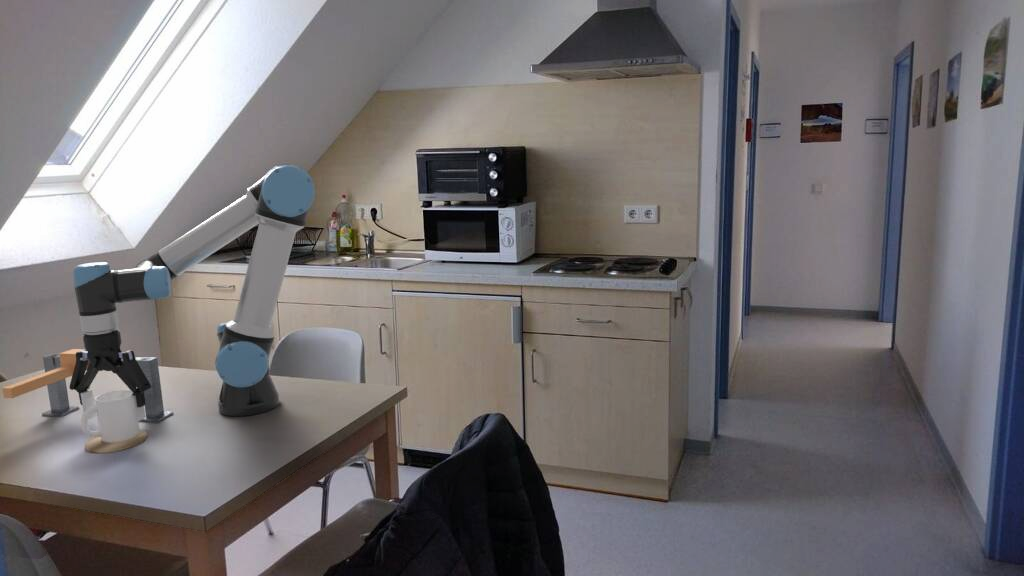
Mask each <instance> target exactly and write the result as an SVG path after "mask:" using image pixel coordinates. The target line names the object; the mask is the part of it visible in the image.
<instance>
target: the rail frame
mask: <svg viewBox="0 0 1024 576" xmlns="http://www.w3.org/2000/svg"><path fill="white" fill-rule="evenodd" d="M59 355H60V354H59V353H51V354H48V355H44V356H42V359H43V360H42V361H43V368H44V373H46V372H48V371H51V370H54V369H57V368H59V367H61V363H60V356H59ZM135 359H136V361H137V363H138V364H139V366H140V368H141V369H142V371H143V373H144V374H145V376H146V378H147V379H148V381H149V383H150V385H151V388H150V389H148V390H146V391H144V396H145V405H144V411H145V418H144V419H142V420H141V421H140V422H146V423H148V422H149V423H160V422H161V421H163V420H165V419H167V418H169V417H170V416H172V415H174V411H168V410H166V411H165V409H164V401H163V395H162V385H161V384H162V383H161V378H160V377H161V376H160V370H159V361H158V357H157V356H156V357H153V356H151V357H149V356H147V357H143V356H142V357H141V356H140V357H139V356H138V357H137V356H135ZM90 363H91V361H90V360H89V359H88V364H87V366H89V364H90ZM118 367H119V365H118ZM46 387H47V394H48V399H49V405H50V409H49V410H46V411H45V412H41V415H42V417H43V416H44V417H63V416H65V415H69V414H70V413H73V412H75V411H78V410H80V407H79V406H74V405H70V402H69V401H70V400H69V394H68V388H67V380H66V378H65V379H62V380H59V381H57V382H54V383H51V384H49V385H46Z"/></svg>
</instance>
